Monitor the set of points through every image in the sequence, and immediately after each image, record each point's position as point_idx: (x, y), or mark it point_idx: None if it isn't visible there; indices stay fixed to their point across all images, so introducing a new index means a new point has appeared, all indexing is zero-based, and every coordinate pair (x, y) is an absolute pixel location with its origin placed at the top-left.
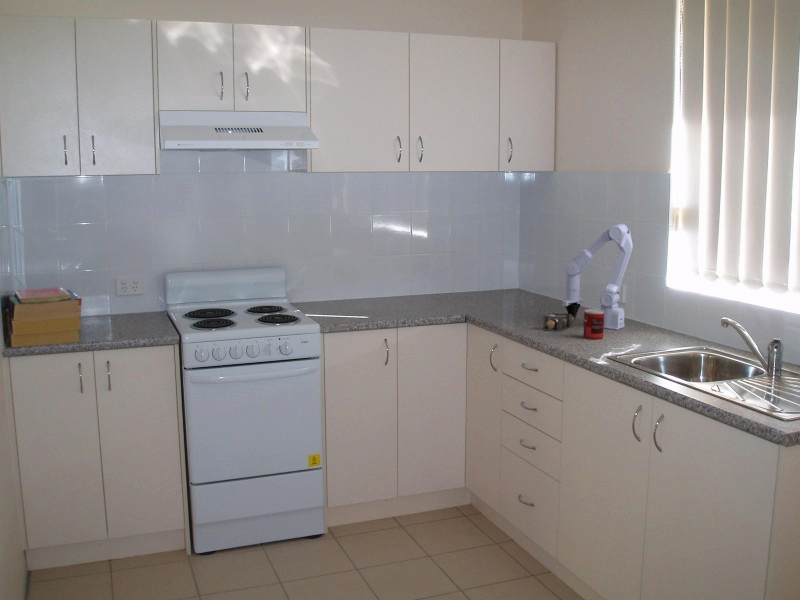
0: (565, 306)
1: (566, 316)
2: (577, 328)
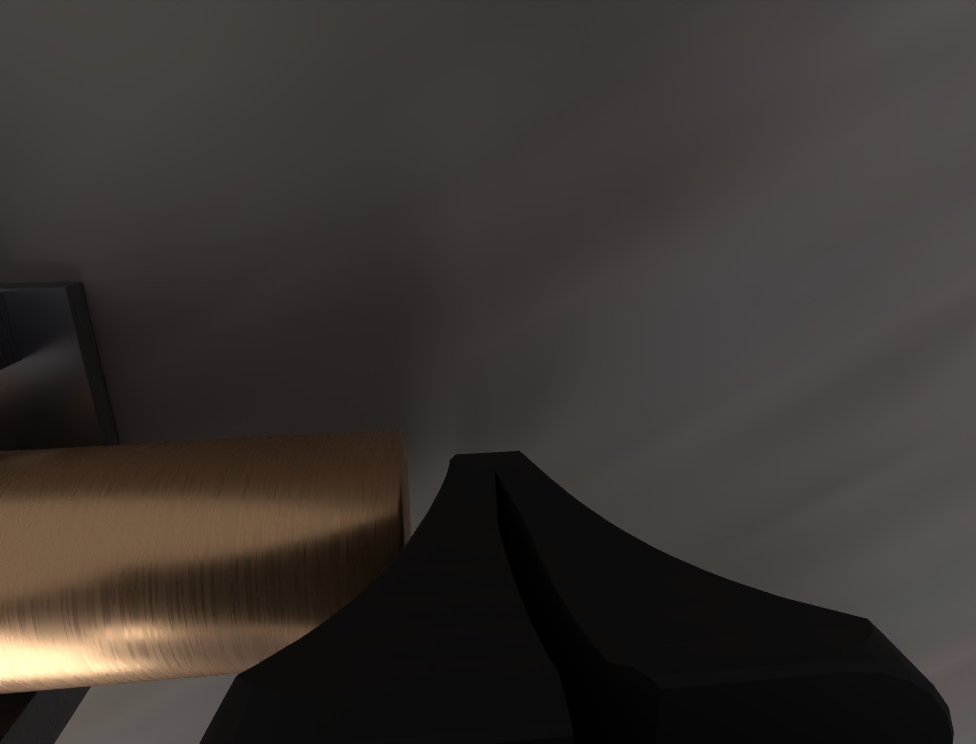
0: (231, 716)
1: (33, 679)
2: (152, 740)
